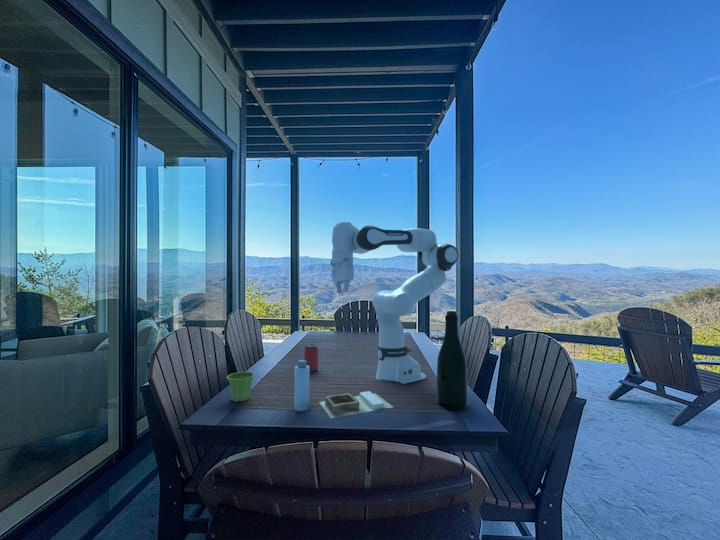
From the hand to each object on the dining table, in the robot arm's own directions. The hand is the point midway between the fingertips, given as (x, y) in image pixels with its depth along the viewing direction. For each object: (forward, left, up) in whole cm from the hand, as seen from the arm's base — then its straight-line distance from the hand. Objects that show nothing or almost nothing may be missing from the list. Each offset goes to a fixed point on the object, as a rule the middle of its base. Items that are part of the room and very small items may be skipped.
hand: (342, 292), depth 133 cm
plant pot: (+39, -1, -39) cm, 55 cm away
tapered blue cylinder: (+20, +16, -38) cm, 46 cm away
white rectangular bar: (-3, +23, -37) cm, 44 cm away
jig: (+3, +23, -38) cm, 45 cm away
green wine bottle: (-29, +34, -39) cm, 59 cm away
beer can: (+6, -27, -39) cm, 48 cm away
